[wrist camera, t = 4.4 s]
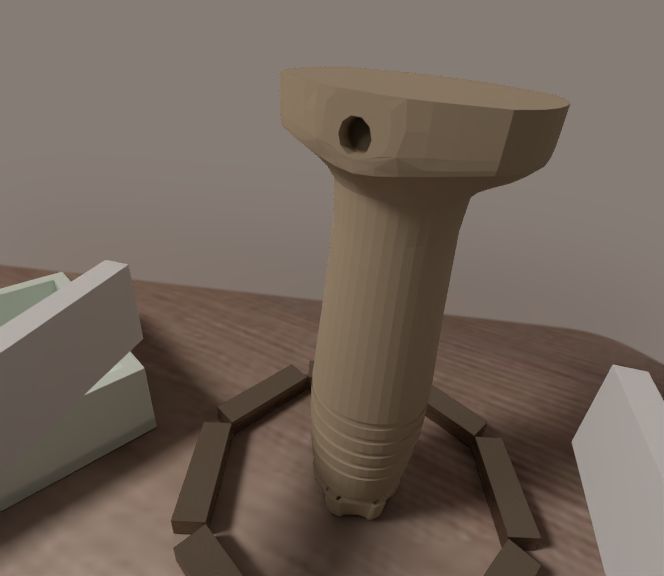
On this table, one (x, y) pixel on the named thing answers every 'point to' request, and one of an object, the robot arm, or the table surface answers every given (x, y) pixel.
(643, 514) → the robot arm
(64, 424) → the bin
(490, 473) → the collar ring
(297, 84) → the handle
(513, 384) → the table surface
